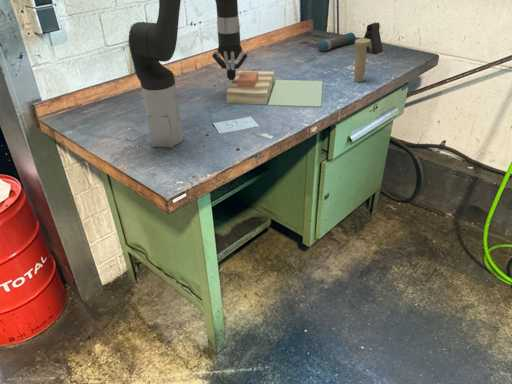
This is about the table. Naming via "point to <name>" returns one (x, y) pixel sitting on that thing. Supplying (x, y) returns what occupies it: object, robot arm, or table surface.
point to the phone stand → (374, 38)
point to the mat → (296, 93)
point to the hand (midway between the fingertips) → (231, 79)
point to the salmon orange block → (247, 79)
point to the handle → (360, 58)
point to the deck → (251, 89)
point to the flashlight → (336, 42)
